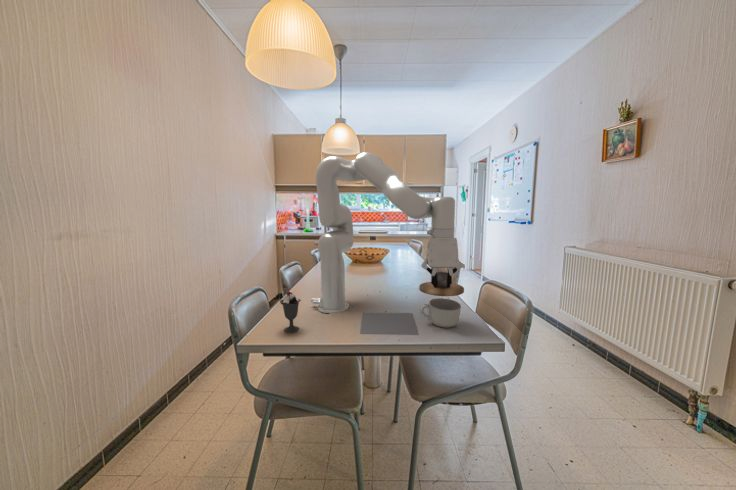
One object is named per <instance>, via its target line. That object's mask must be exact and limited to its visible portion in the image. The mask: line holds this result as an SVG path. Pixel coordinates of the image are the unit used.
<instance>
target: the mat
mask: <svg viewBox="0 0 736 490" xmlns="http://www.w3.org/2000/svg"><path fill="white" fill-rule="evenodd" d="M360 324H361V326H360V331H359V332H360V333H359V335H398V336H399V335H402V336H405V335H406V336H410V335H411V336H418V335H420V334H419V330H418V327H417V325H416V321H415V317H414V314H413V313H412V312H365V311H364V312H362V319H361V323H360Z"/></svg>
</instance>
